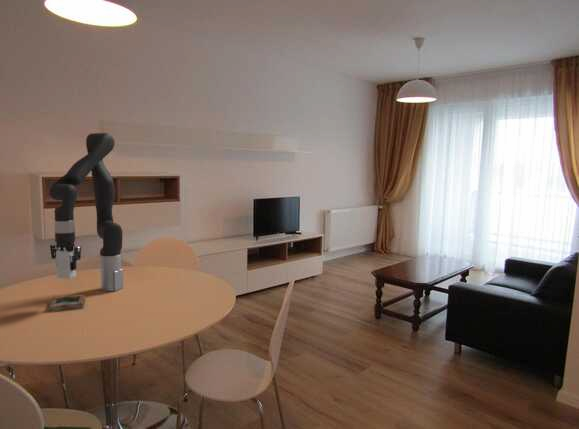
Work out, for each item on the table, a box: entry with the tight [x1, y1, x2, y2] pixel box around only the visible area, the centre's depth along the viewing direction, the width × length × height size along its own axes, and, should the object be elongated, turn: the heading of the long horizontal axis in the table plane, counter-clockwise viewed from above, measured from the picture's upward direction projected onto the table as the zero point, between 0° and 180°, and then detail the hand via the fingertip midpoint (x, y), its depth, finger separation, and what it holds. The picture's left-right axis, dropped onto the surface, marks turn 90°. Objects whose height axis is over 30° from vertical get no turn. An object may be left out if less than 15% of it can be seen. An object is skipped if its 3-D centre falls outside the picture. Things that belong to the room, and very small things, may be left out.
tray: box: [48, 294, 86, 313], centre depth 176 cm, size 13×13×2 cm
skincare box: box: [55, 251, 77, 280], centre depth 174 cm, size 6×4×12 cm
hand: (66, 269), depth 174 cm, fingers closed on skincare box, 6 cm apart
